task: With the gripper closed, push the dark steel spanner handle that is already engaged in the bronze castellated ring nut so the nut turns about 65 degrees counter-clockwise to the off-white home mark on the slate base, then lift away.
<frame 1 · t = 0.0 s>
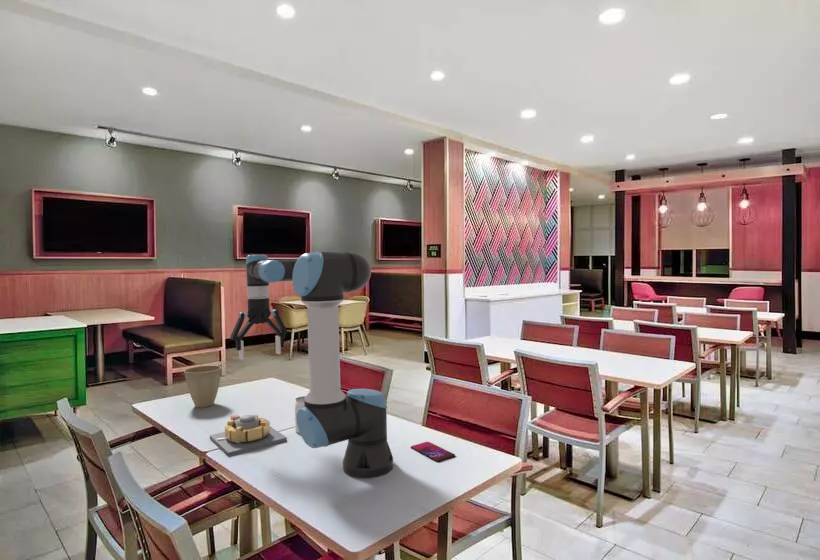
hand: (260, 356, 177), 28 cm above the table, fingers open, 13 cm apart
base: (248, 439, 172), on the table
plant pot: (204, 405, 213), on the table
smartphone: (432, 453, 158), on the table
can: (304, 431, 179), on the table
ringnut: (244, 425, 174), point 4 cm above the table, hinge at 0.0°
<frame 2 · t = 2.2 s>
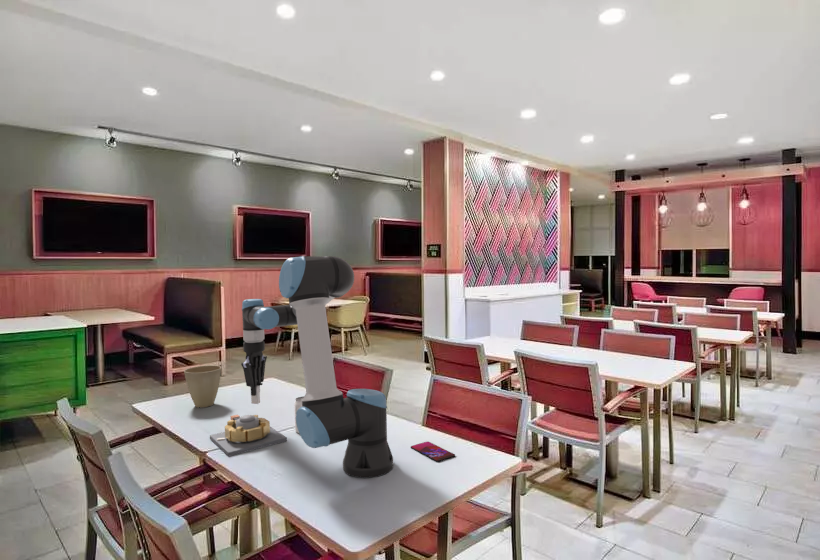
hand: (255, 403, 184), 9 cm above the table, fingers closed
nothing on the table moved.
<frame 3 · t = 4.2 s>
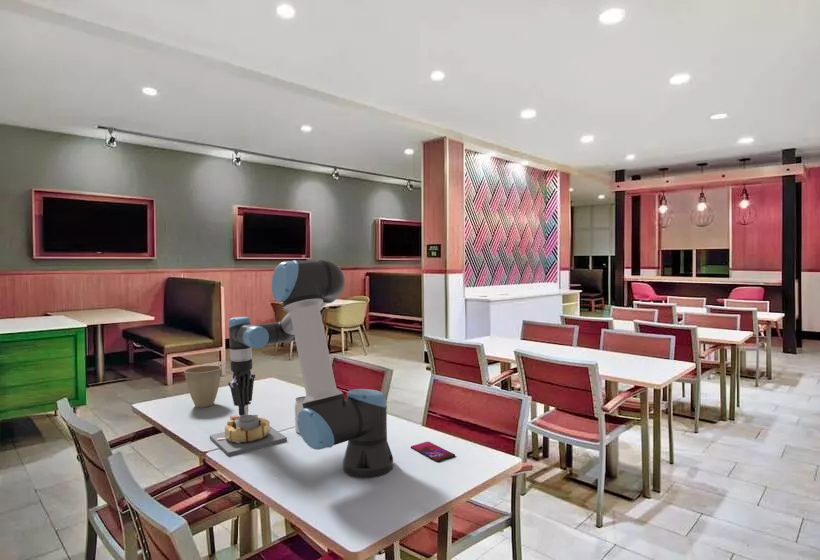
hand: (244, 422, 181), 3 cm above the table, fingers closed
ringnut: (243, 425, 174), point 4 cm above the table, hinge at 0.8°, touching gripper
everything else where it was.
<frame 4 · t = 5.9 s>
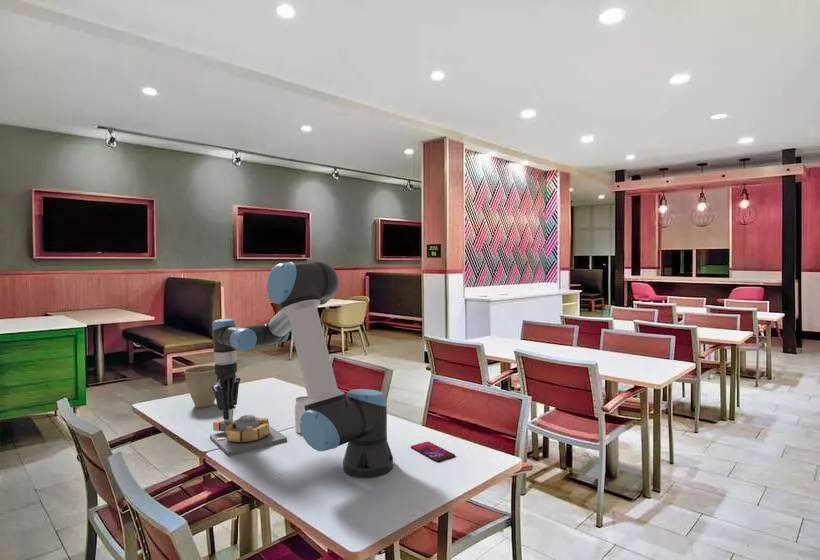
hand: (228, 427, 177), 3 cm above the table, fingers closed
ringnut: (239, 426, 173), point 4 cm above the table, hinge at 31.1°, touching gripper
everything else where it was.
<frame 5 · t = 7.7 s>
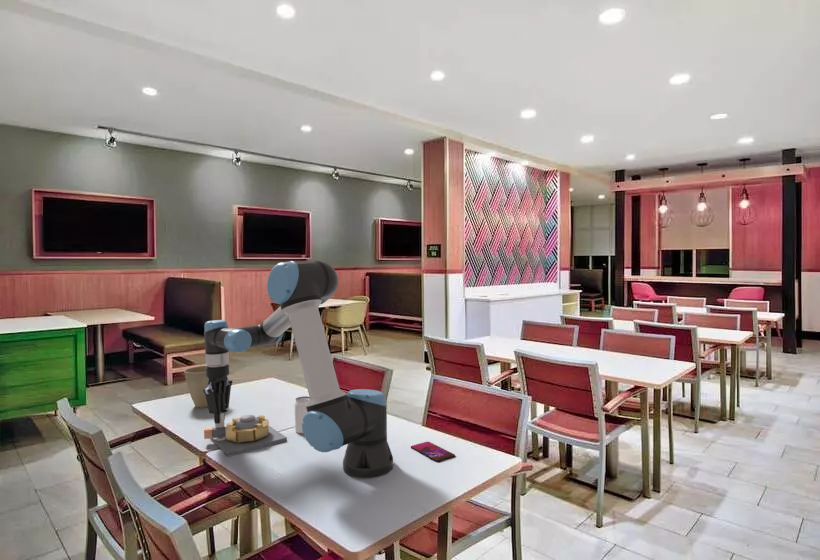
hand: (220, 431, 172), 3 cm above the table, fingers closed
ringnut: (237, 428, 171), point 4 cm above the table, hinge at 64.8°
everything else where it was.
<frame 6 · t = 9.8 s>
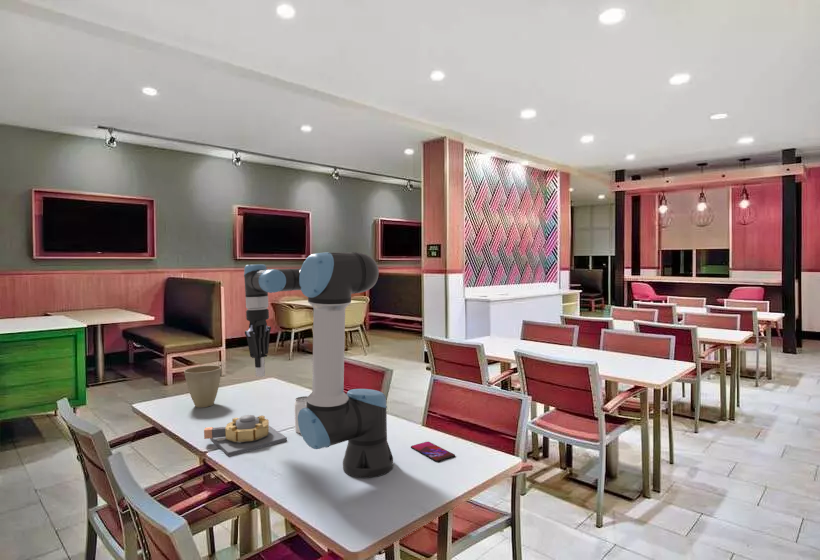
hand: (260, 376, 171), 22 cm above the table, fingers closed
nothing on the table moved.
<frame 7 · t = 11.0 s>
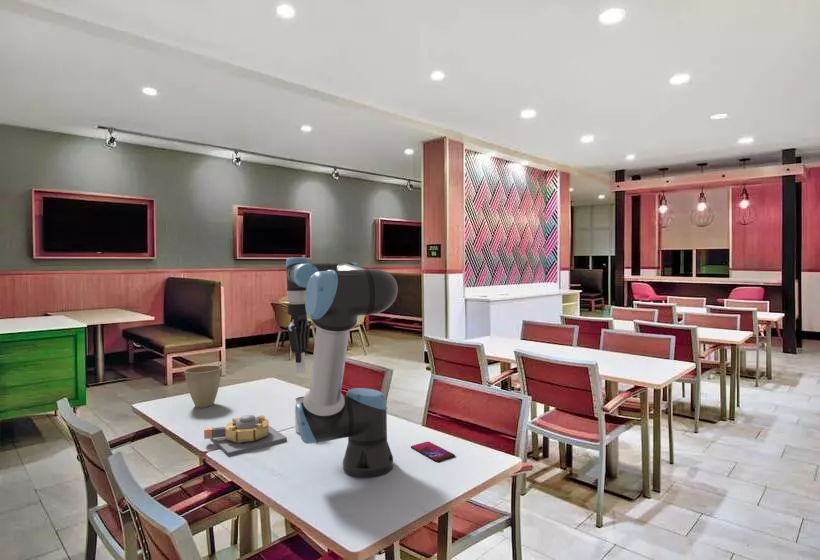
hand: (300, 371, 168), 24 cm above the table, fingers closed
nothing on the table moved.
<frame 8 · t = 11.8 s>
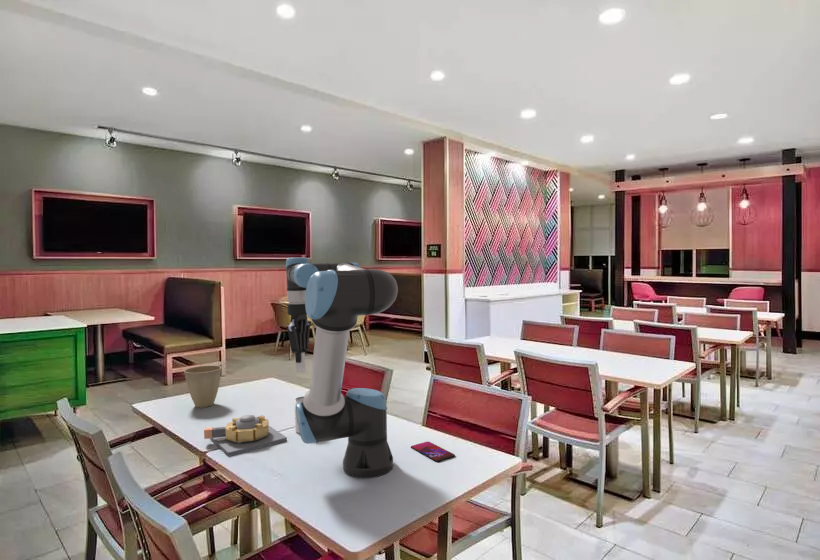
hand: (300, 371, 168), 24 cm above the table, fingers closed
nothing on the table moved.
at the end: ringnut at +65° (first picture: +0°) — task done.
